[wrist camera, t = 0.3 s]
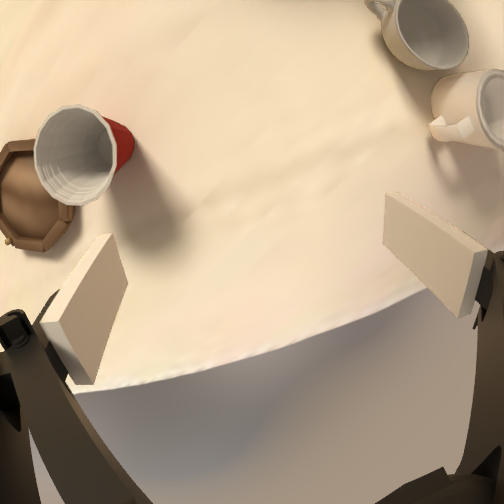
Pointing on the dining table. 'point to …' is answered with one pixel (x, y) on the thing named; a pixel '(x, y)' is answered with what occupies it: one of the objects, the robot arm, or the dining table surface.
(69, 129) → the plastic cup
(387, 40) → the teacup
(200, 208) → the dining table surface
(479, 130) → the mug
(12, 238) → the octagonal wooden tray
